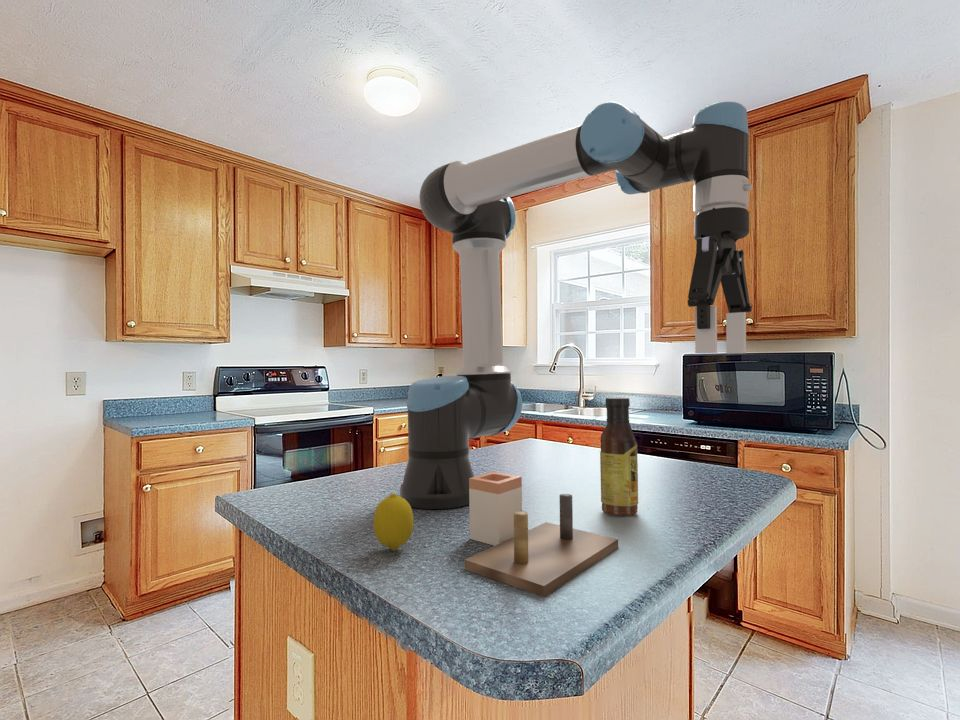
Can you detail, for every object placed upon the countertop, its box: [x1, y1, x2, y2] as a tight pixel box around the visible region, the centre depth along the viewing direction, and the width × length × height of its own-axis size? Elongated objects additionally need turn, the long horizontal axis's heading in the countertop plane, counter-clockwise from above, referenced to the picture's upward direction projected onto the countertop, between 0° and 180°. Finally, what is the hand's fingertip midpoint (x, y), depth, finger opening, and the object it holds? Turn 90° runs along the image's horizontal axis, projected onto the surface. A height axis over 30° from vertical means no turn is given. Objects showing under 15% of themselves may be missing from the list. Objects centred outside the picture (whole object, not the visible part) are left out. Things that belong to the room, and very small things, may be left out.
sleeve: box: [468, 471, 523, 547], centre depth 75 cm, size 6×6×9 cm
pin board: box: [464, 493, 619, 597], centre depth 67 cm, size 12×19×7 cm, turn 140°
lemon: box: [373, 493, 415, 552], centre depth 71 cm, size 6×6×8 cm
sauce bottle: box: [599, 397, 639, 517], centre depth 87 cm, size 7×6×20 cm
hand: (722, 353), depth 76 cm, fingers open, 13 cm apart
